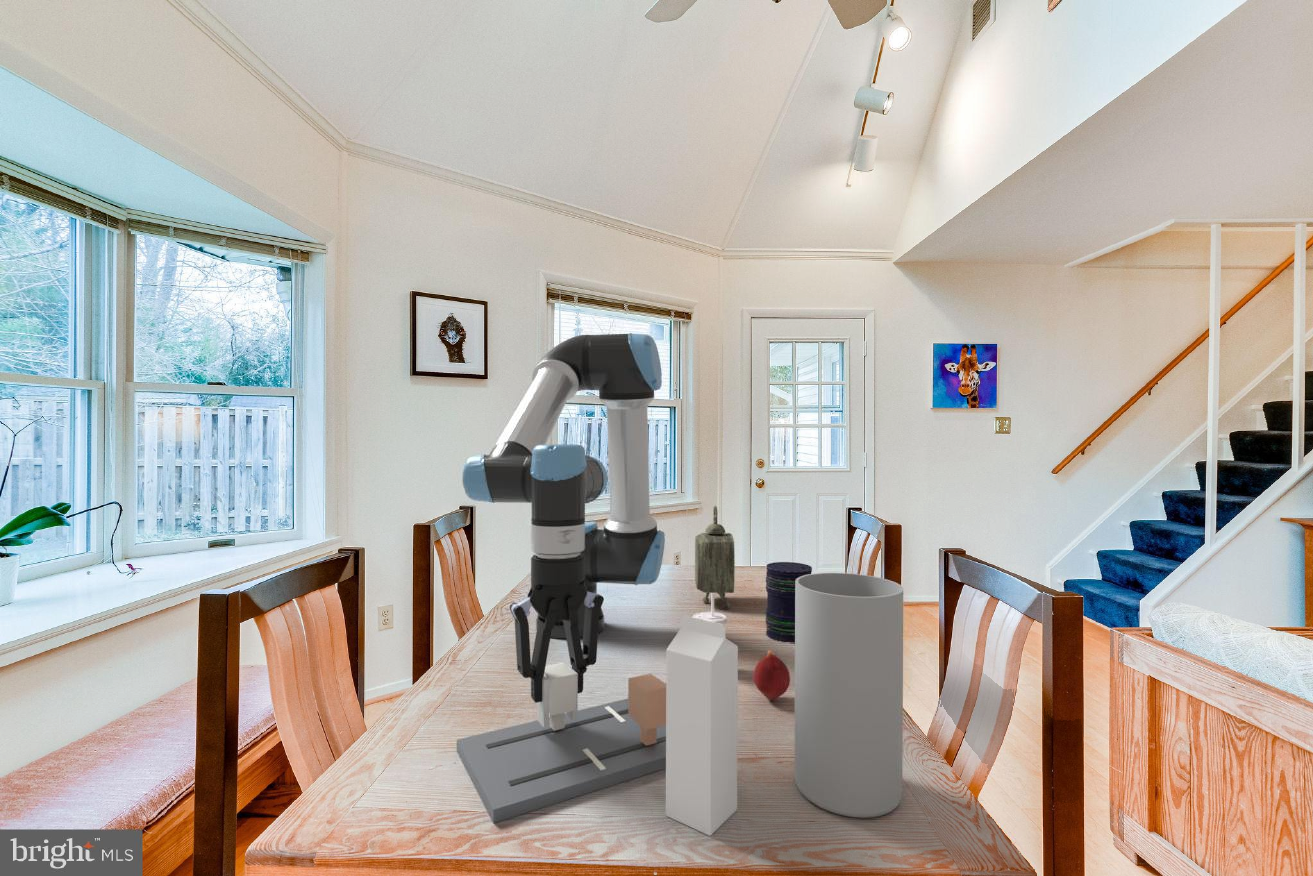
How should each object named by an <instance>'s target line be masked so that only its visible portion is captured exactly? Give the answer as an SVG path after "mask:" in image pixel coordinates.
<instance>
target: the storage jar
mask: <svg viewBox="0 0 1313 876" xmlns="http://www.w3.org/2000/svg"><path fill="white" fill-rule="evenodd" d="M812 572H813V567H812V566H811V565H809V564H806V563H801V562H791V561H778V562H777V561H776V562H771V563H767V564H766V577H765V583H766V584H765V590H766V591H765V592H767V598H766V599H767V601H766V603H767V606H766V607H767V608H765V628H766V630H765V633H766V634H765V635H766V637H767V636H768V637H769V638H768V637H767V638H768V639H770V638H771V639H770V640H772V639H773V640H772V641H775V640H777V641H776V642H779V641H781V642H780V643H785V642H794V643H793V644H795V581H796V579H797V578H798V577H801V576H804V575H808V574H812Z"/></svg>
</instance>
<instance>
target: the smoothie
mask: <svg viewBox="0 0 1313 876" xmlns="http://www.w3.org/2000/svg"><path fill="white" fill-rule="evenodd" d="M710 594H711V595H710V597H711V598H710V601H711V602H710V603H711V604H710V605H711V606H710V610H711V611H703V612H702V611H701V612H696V613H694V614H693V615H692V618H697V619H702V620H706V621H711V622H716V623H720V624H724V626H725V627H726V625H727V623H728V621H727V619H728V617H727V616H726V614H723V613H721V612H715V593H710Z"/></svg>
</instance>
